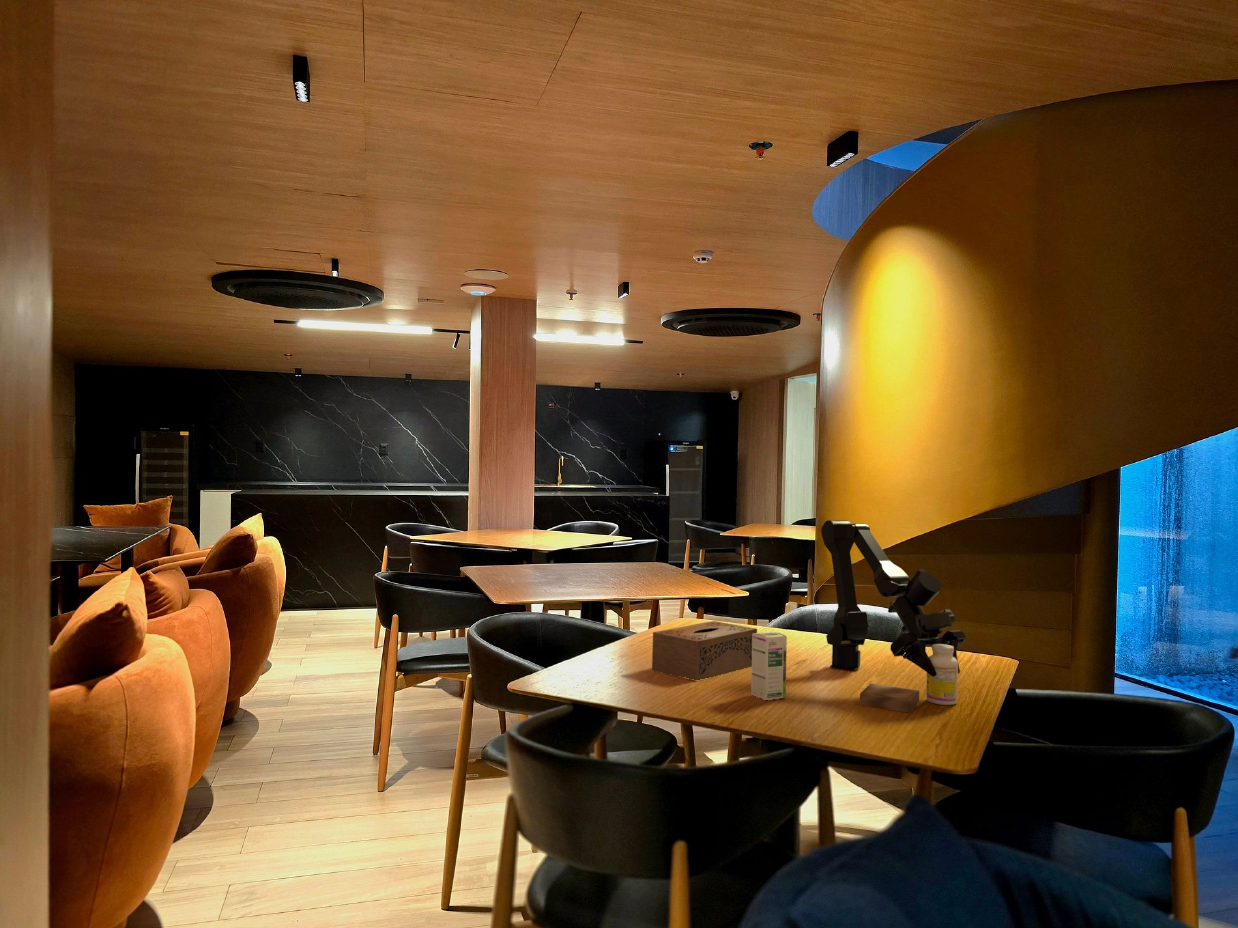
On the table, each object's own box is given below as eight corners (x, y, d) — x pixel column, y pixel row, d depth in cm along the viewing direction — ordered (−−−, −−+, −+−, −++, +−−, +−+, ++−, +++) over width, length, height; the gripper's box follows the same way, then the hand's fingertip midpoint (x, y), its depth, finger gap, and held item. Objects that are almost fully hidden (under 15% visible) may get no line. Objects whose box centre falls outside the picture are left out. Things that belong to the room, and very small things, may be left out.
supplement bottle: (932, 696, 199) (933, 641, 199) (961, 701, 195) (962, 645, 195) (921, 701, 194) (923, 645, 194) (951, 707, 190) (953, 650, 190)
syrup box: (765, 701, 190) (767, 636, 190) (750, 694, 195) (751, 631, 196) (786, 698, 193) (788, 635, 193) (770, 692, 198) (771, 630, 198)
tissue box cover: (696, 682, 207) (698, 641, 207) (651, 671, 216) (652, 632, 216) (756, 666, 225) (757, 628, 225) (712, 656, 235) (713, 620, 235)
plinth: (859, 704, 190) (860, 692, 190) (870, 693, 199) (870, 682, 199) (910, 712, 185) (911, 700, 185) (919, 701, 194) (919, 689, 194)
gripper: (900, 598, 194) (934, 657, 184) (961, 596, 202) (998, 652, 192) (876, 626, 201) (907, 684, 191) (936, 623, 209) (969, 678, 199)
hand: (946, 674), depth 193 cm, fingers closed on supplement bottle, 7 cm apart
